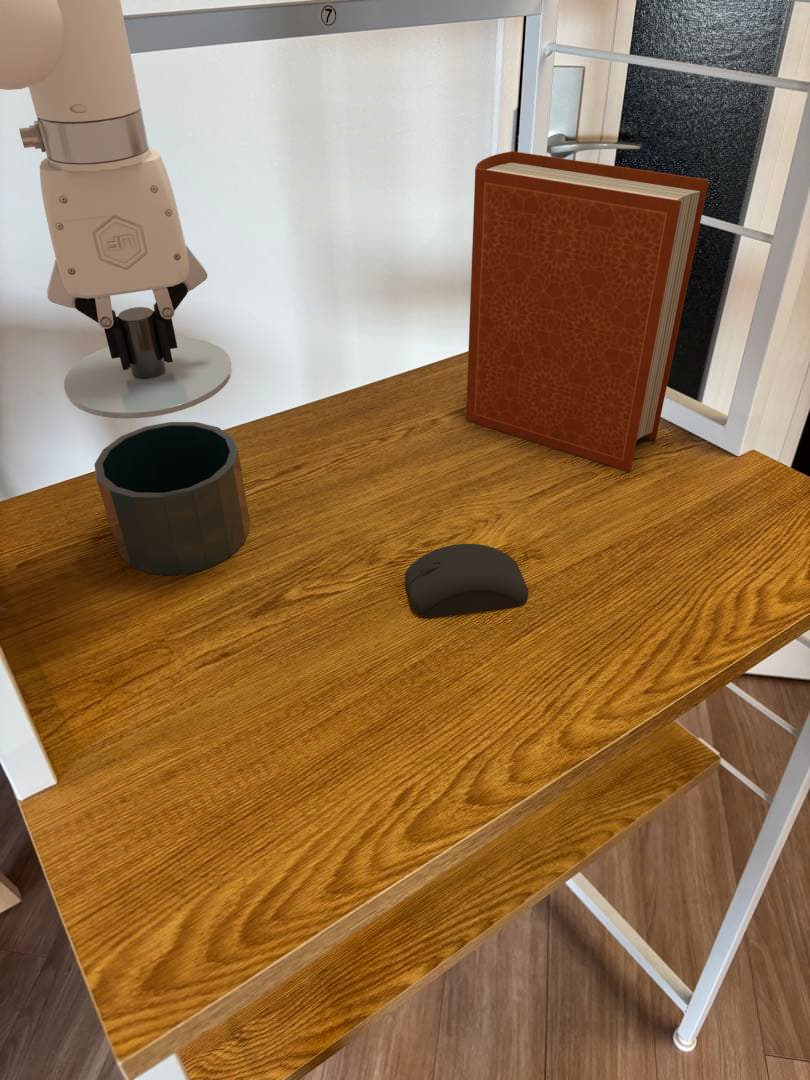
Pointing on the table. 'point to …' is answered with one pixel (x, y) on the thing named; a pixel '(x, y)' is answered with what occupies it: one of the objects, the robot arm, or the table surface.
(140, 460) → the tin
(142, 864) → the table surface
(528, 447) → the table surface
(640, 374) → the book
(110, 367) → the lid
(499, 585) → the computer mouse
